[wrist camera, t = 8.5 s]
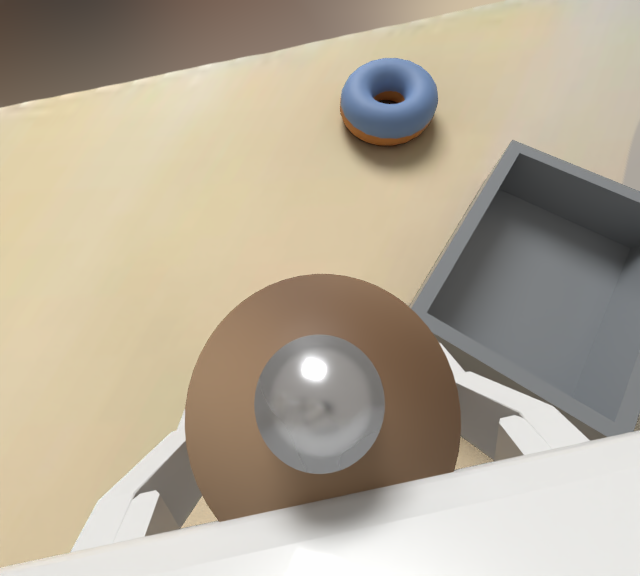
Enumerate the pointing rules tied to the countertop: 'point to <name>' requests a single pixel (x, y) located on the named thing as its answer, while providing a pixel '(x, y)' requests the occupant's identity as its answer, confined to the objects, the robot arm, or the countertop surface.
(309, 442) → the pepper mill
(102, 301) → the countertop surface
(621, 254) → the bin
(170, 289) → the countertop surface
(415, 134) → the doughnut
